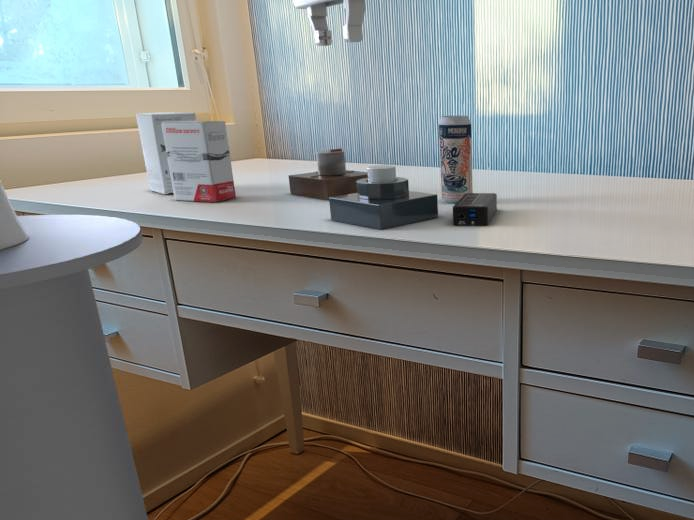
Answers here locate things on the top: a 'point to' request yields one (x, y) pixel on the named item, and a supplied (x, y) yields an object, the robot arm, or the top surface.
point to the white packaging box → (158, 147)
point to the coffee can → (455, 157)
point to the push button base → (383, 205)
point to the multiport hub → (475, 209)
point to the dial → (331, 162)
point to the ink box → (199, 160)
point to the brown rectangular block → (325, 184)
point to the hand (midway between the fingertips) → (338, 44)
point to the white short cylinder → (381, 173)
